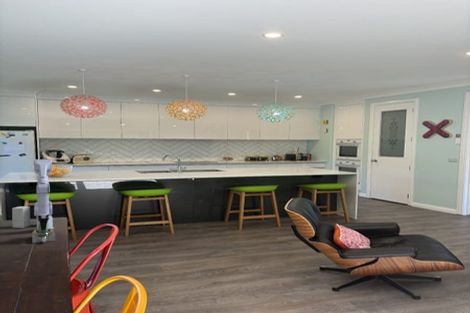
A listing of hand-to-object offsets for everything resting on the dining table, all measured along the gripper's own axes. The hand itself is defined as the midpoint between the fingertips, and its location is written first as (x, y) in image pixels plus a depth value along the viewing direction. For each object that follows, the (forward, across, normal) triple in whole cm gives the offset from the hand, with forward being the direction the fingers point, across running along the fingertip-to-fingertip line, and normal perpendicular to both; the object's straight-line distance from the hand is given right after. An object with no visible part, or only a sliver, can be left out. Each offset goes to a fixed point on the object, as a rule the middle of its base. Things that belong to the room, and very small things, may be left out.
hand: (43, 228), depth 208 cm
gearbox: (+5, +5, 0) cm, 7 cm away
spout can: (+4, 0, 0) cm, 4 cm away
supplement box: (+5, -38, -12) cm, 41 cm away
